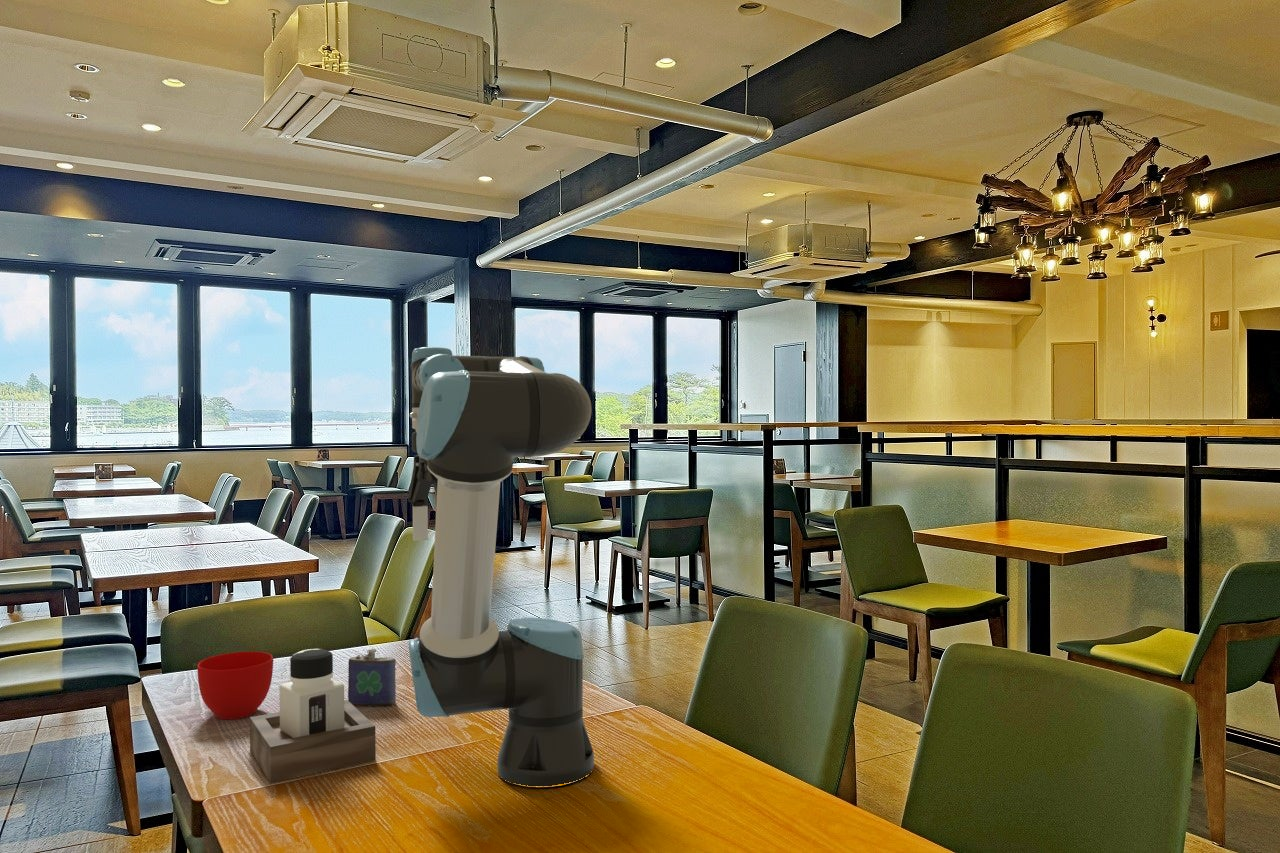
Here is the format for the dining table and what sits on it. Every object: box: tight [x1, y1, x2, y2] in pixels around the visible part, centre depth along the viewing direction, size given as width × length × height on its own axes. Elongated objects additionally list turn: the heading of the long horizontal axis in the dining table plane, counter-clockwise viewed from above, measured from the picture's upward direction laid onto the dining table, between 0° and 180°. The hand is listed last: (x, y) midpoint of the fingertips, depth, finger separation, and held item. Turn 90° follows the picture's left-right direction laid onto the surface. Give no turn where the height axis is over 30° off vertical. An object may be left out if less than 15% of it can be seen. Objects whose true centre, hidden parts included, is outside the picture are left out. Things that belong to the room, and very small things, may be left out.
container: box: [278, 648, 345, 738], centre depth 144 cm, size 8×8×13 cm
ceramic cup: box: [196, 650, 274, 720], centre depth 166 cm, size 13×17×10 cm
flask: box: [347, 648, 397, 708], centre depth 170 cm, size 9×3×11 cm, turn 87°
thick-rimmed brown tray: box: [249, 699, 377, 784], centre depth 145 cm, size 16×16×6 cm
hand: (433, 544), depth 164 cm, fingers open, 13 cm apart
